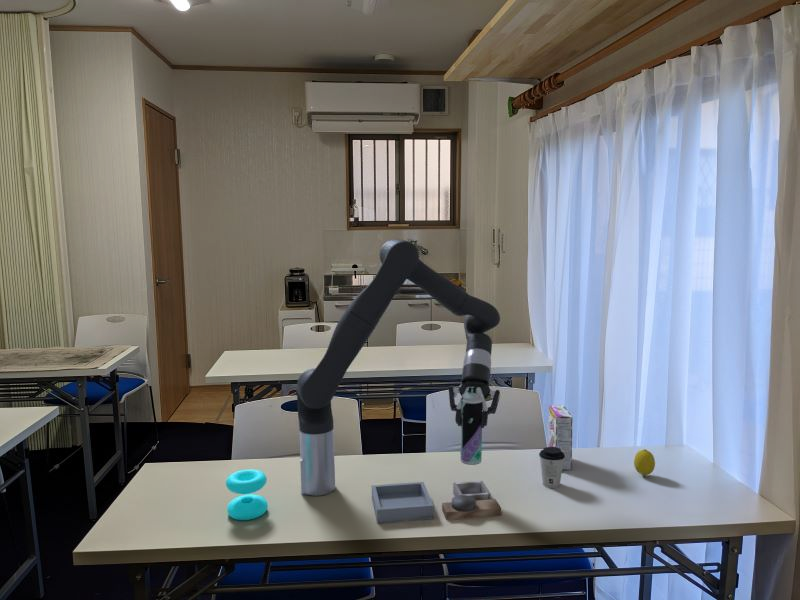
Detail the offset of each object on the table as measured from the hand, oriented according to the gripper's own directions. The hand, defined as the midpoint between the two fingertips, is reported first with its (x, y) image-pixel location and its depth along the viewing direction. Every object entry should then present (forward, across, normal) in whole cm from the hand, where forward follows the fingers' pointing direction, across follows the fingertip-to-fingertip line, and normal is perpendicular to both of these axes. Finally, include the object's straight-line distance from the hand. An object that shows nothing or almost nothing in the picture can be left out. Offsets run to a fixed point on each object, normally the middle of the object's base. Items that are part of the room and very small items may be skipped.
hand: (470, 425), depth 162 cm
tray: (+20, -17, +10) cm, 28 cm away
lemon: (-4, +46, +33) cm, 57 cm away
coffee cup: (+4, +21, +25) cm, 33 cm away
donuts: (+28, -54, +3) cm, 61 cm away
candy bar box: (-7, +23, +37) cm, 44 cm away
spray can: (+6, 0, +9) cm, 11 cm away
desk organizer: (+16, 0, +13) cm, 21 cm away
